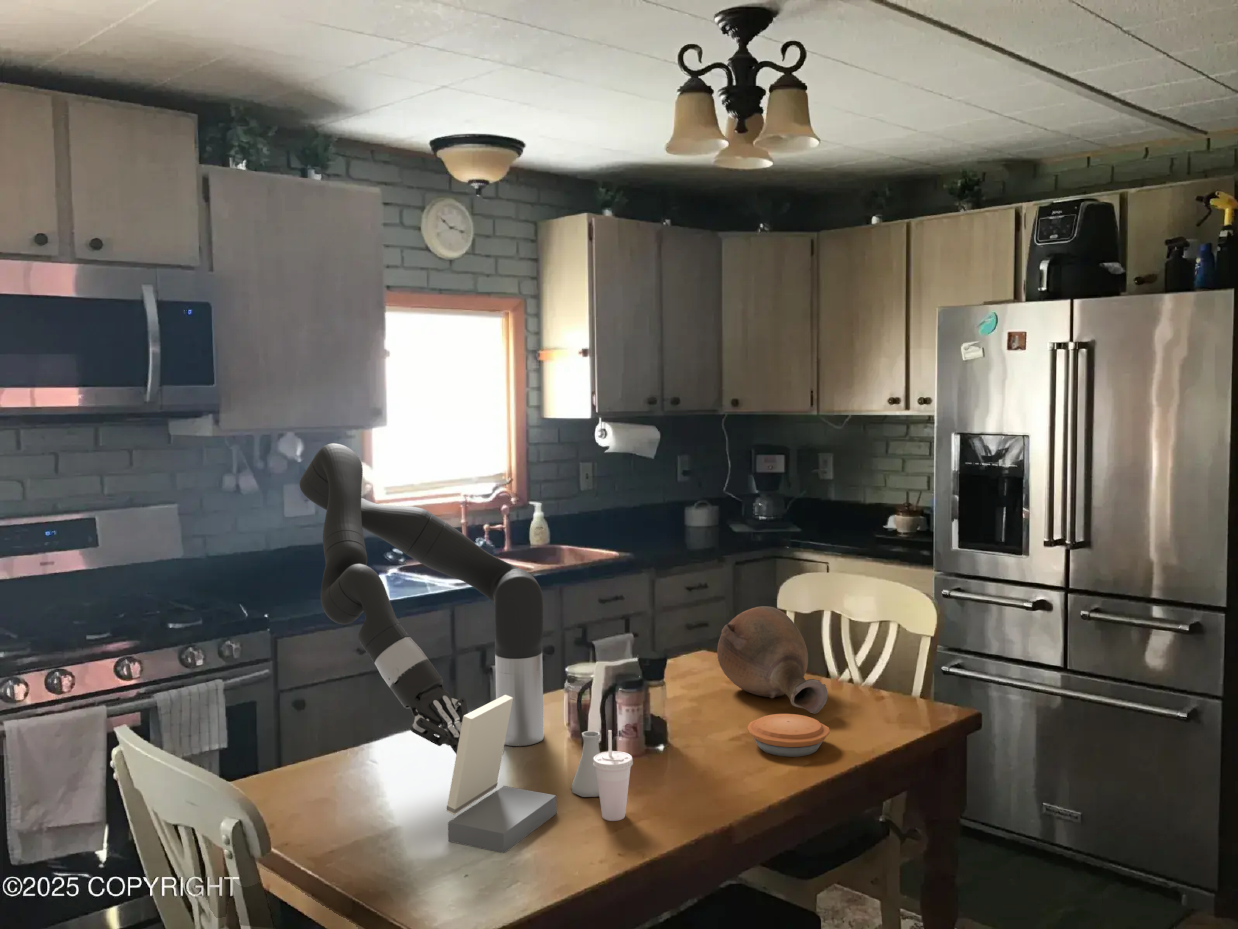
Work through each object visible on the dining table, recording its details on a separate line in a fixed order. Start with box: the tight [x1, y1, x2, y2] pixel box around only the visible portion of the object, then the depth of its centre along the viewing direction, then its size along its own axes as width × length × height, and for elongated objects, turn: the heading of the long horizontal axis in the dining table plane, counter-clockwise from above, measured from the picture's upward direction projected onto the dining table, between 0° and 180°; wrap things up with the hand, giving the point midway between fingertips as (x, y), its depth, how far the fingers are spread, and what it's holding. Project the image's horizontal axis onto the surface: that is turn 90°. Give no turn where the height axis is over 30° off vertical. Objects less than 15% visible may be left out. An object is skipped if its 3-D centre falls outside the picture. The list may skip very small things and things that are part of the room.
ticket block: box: [447, 785, 558, 854], centre depth 166 cm, size 16×10×3 cm, turn 154°
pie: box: [747, 713, 831, 758], centre depth 201 cm, size 15×16×5 cm
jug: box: [716, 605, 829, 715], centre depth 231 cm, size 20×20×30 cm
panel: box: [445, 695, 513, 815], centre depth 167 cm, size 12×2×16 cm, turn 154°
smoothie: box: [593, 729, 634, 822], centre depth 169 cm, size 6×6×14 cm
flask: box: [571, 730, 601, 798], centre depth 180 cm, size 7×7×10 cm
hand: (470, 758), depth 167 cm, fingers closed
